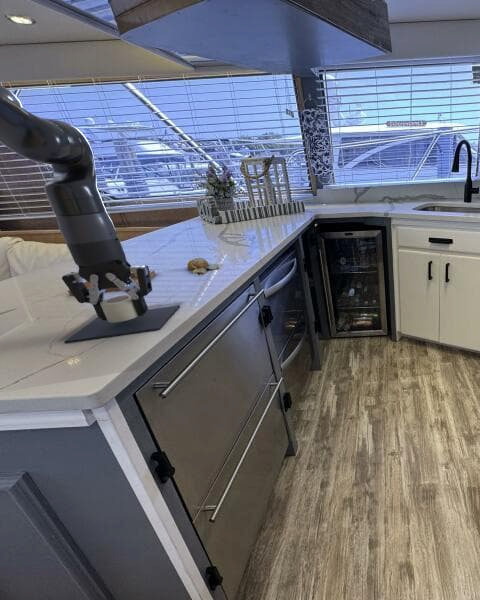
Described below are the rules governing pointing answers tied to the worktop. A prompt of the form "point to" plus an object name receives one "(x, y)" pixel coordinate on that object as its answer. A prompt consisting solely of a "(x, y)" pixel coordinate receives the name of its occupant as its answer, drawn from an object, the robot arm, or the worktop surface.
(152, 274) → the tray
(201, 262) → the turtle figurine
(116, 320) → the tape
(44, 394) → the worktop surface
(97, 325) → the mat
